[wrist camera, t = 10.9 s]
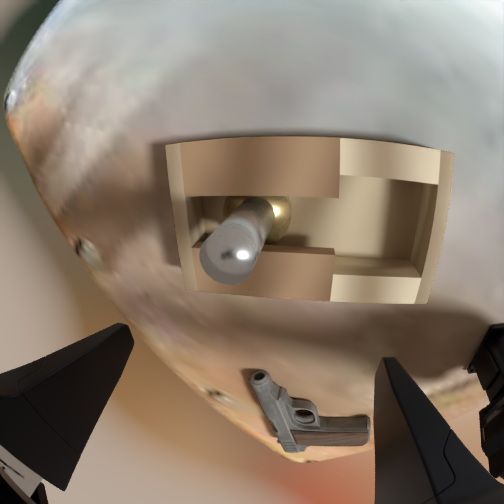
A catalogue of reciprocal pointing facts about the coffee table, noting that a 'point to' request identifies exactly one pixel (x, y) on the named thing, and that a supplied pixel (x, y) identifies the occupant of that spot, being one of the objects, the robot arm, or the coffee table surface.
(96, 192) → the coffee table surface
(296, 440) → the handgun
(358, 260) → the keyhole board
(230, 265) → the peg
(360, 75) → the coffee table surface
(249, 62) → the coffee table surface
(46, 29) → the coffee table surface
